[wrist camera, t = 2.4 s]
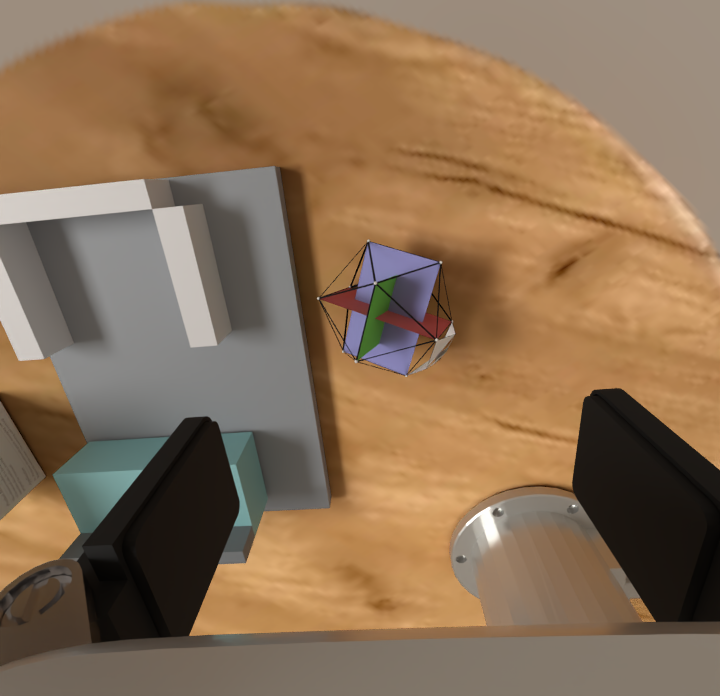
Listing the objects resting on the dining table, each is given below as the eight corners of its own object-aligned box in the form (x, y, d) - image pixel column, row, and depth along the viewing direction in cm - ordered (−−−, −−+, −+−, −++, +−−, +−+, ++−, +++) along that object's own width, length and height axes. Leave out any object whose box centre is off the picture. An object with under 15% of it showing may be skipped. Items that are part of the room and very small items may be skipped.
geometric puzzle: (289, 339, 24) (363, 411, 18) (308, 224, 21) (401, 268, 16) (380, 334, 28) (462, 391, 23) (405, 238, 26) (505, 276, 20)
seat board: (279, 167, 22) (262, 163, 19) (331, 496, 31) (326, 534, 28) (0, 197, 24) (-64, 199, 20) (127, 506, 33) (98, 544, 29)
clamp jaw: (252, 431, 28) (224, 487, 22) (267, 498, 30) (245, 563, 25) (89, 441, 28) (26, 497, 23) (116, 506, 31) (64, 570, 26)
